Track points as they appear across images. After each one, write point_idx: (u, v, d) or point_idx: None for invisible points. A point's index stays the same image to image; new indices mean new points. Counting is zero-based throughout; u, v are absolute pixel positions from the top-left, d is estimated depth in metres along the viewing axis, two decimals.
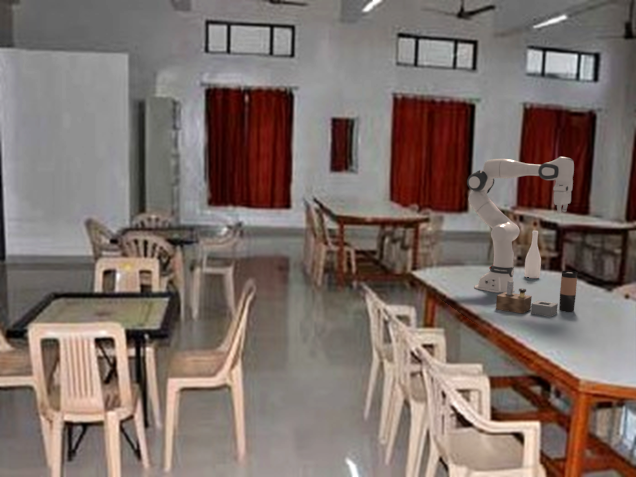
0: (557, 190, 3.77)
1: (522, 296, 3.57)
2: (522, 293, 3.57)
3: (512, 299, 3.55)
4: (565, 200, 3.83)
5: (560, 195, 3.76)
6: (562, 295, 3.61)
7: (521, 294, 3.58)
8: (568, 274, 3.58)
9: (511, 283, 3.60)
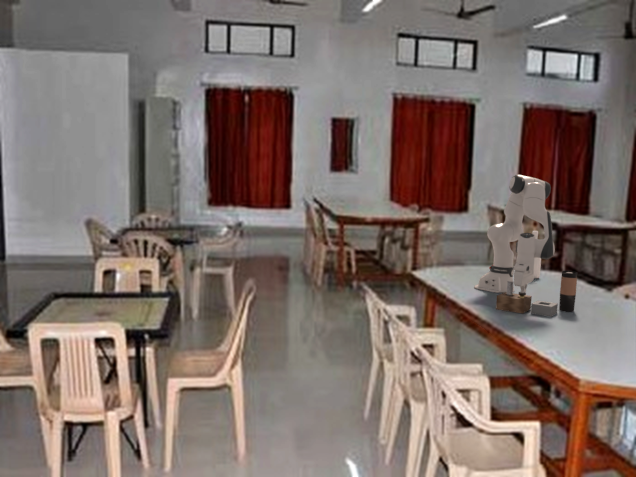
0: (517, 270, 3.50)
1: None
2: (522, 296, 3.58)
3: (512, 299, 3.55)
4: (526, 280, 3.55)
5: (521, 275, 3.48)
6: (562, 295, 3.61)
7: (521, 297, 3.58)
8: (568, 274, 3.58)
9: (511, 283, 3.60)
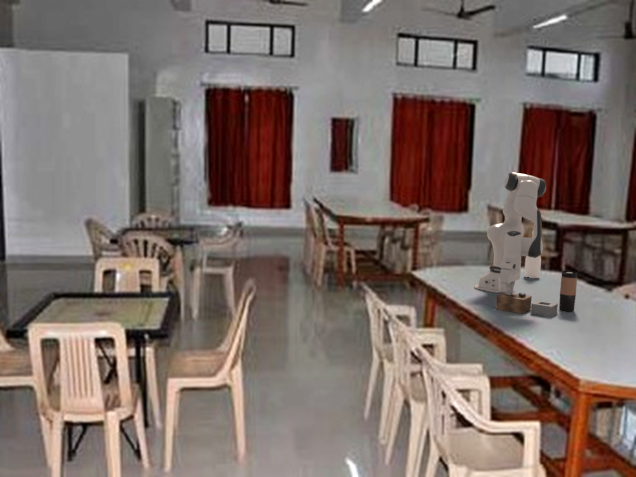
0: (504, 268, 3.54)
1: None
2: None
3: (512, 299, 3.55)
4: (513, 277, 3.59)
5: (507, 273, 3.52)
6: (562, 295, 3.61)
7: None
8: (568, 274, 3.58)
9: (511, 283, 3.60)
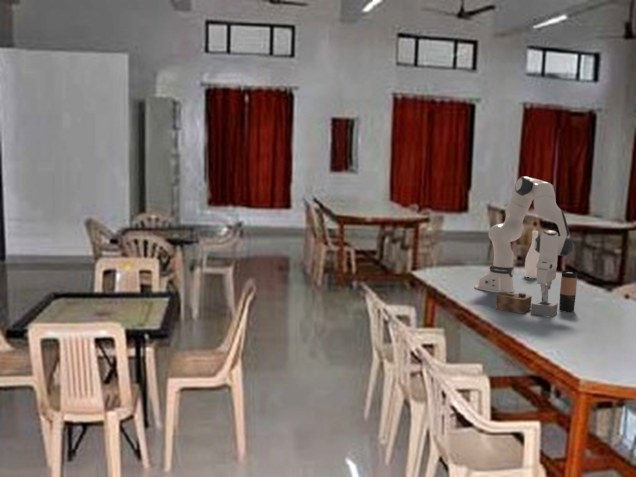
0: (540, 268, 3.45)
1: None
2: None
3: (512, 299, 3.55)
4: (549, 278, 3.51)
5: (544, 273, 3.44)
6: (562, 295, 3.61)
7: None
8: (568, 274, 3.58)
9: (546, 287, 3.52)
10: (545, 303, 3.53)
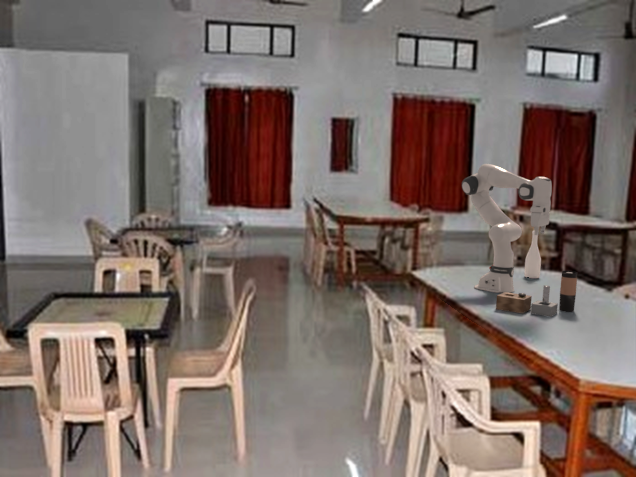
0: (534, 211, 3.64)
1: None
2: None
3: (512, 299, 3.55)
4: (543, 222, 3.69)
5: (537, 216, 3.62)
6: (562, 295, 3.61)
7: None
8: (568, 274, 3.58)
9: (547, 287, 3.52)
10: (546, 303, 3.53)
